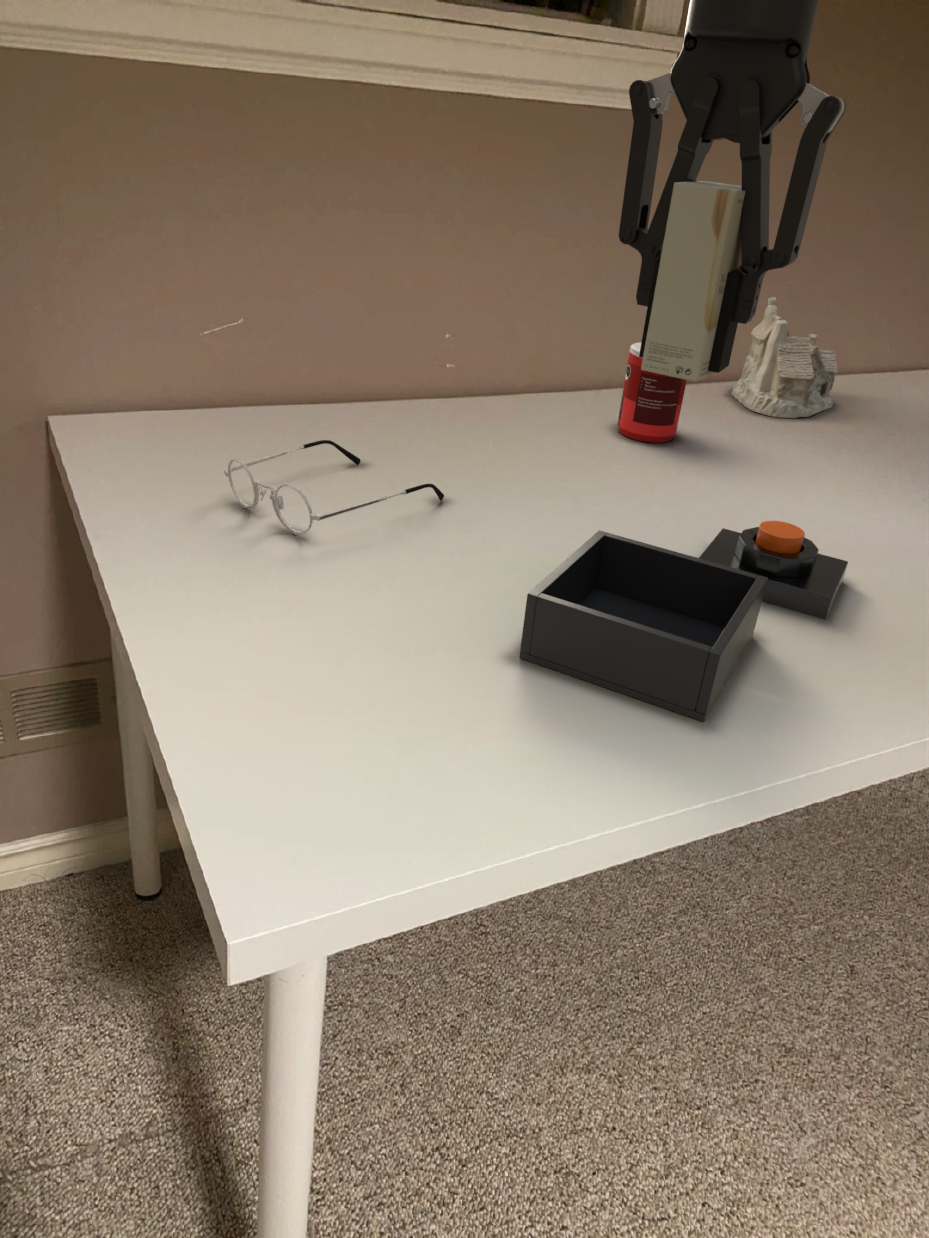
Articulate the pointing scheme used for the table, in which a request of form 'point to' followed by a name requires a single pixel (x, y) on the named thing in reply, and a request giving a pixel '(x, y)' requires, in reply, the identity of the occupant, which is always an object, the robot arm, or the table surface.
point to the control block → (782, 571)
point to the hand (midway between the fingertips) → (683, 360)
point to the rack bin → (643, 622)
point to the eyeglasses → (278, 500)
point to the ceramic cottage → (785, 371)
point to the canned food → (649, 402)
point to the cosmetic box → (693, 277)
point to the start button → (780, 537)
